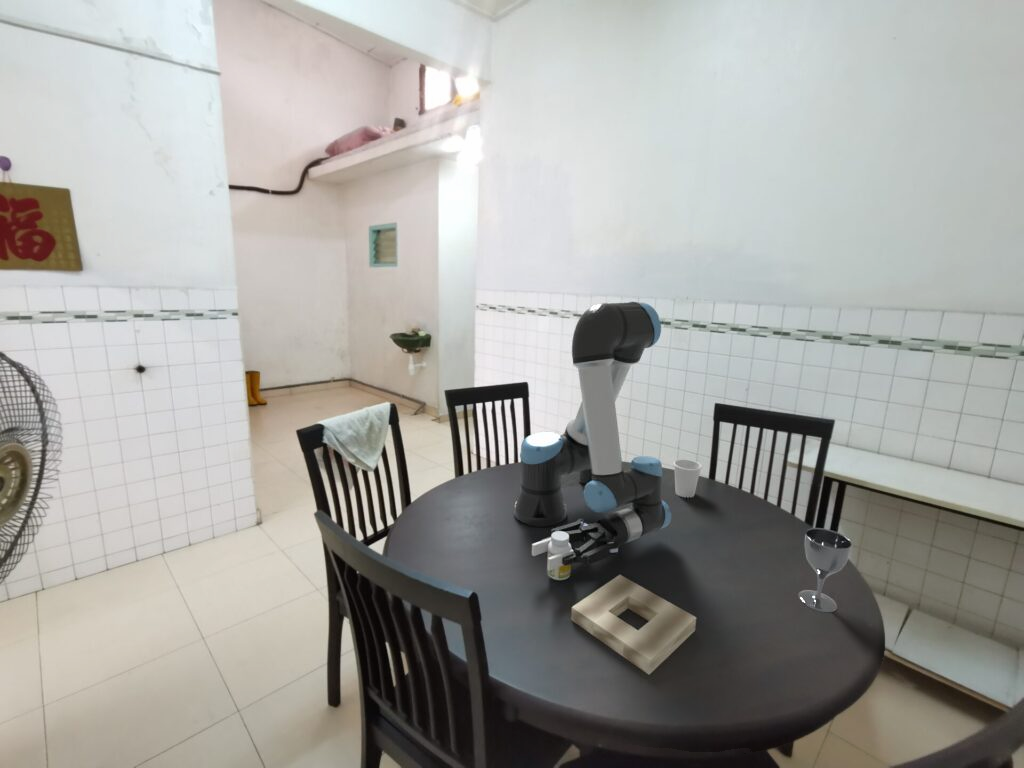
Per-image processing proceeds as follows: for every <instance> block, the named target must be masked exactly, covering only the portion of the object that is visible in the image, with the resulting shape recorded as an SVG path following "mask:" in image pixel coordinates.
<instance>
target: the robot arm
mask: <svg viewBox="0 0 1024 768" xmlns="http://www.w3.org/2000/svg"><path fill="white" fill-rule="evenodd" d="M661 322H662V321H661V320H660V319H659V314H658V312H657V311H656V310H655V308H654V307H652V306H651V305H650V304H648V303H646V302H637V301H630V302H629V301H628V302H615V303H614V302H612V303H611V302H610V303H608V302H604V303H602V302H600V303H598V304H595V305H592V306H591V307H589V308H588V309H587V310H585V312H583V313H582V315H581V316H580V318H579V320H578V321H577V323H576V326H575V328H574V332H573V337H572V344H571V357H572V362H573V363H572V364H573V366H574V367H575V368H577V369H576V370H578V377H579V385H580V386H579V387H580V393H581V402H580V405H579V407H578V410H577V412H576V416H575V419H572V420H570V421H568V423H567V424H566V427H565V430H564V433H563V434H559V433H557V432H553V431H545V432H544V431H540V432H535V433H532V434H530V435H528V436H526V437H525V438H524V439H523V440H522V442H521V444H520V453H519V457H520V477H519V478H520V485H519V486H520V488H519V492H518V494H517V497H516V501H515V502H514V504H513V505H514V507H513V510H514V511H513V514H515V515H514V517H515V518H516V520H517V521H519V520H520V521H521V523H522V522H523V523H522V524H524V523H526V524H525V525H527V524H528V525H527V526H531V525H532V526H531V527H538V528H540V527H552V526H555V525H559V524H561V523H562V522H563V521H565V519H566V517H567V504H566V503H565V499H564V495H563V492H562V478H563V477H566V476H569V475H573V474H577V473H578V474H579V472H581V471H585V470H590V469H591V473H592V481H590V482H589V483H587V484H586V485H585V484H584V490H583V498H584V499H583V500H584V501H585V504H586V506H587V507H588V508H589V509H590V510H591V511H592V512H595V513H599V514H601V513H605V512H609V511H614V510H615V509H617V508H620V507H623V506H625V505H629V504H631V506H629V507H627V508H623V509H620V510H618V511H614V512H613V513H609V514H607V515H603V516H602V517H600V518H599V519H598V520H597V521H596V522H594V523H593V522H592V523H586V522H584V519H583V518H579V519H577V520H576V521H574V522H570V523H567V524H564V525H560V526H557V527H554V528H552V529H551V530H550V536H549V537H546V538H542V539H541V540H540V541H537V542H534V543H532V544H531V556H533V557H536V556H538V555H540V554H543V553H546V552H547V553H548V544H549V542H550V541H551V535H552V533H553V532H556V531H563V532H566V533H567V534H568V535H569V543H570V544H572V543H578V542H579V543H584V544H582V545H581V546H580V547H579V548H576V547H575V548H574V550H573V549H570V550H568V551H565V552H562V553H560V554H557V555H554V556H552V557H549V558H548V570H549V571H550V570H553V569H555V568H558V567H561V566H563V565H565V566H567V565H569V564H571V565H572V564H575V563H576V564H579V563H580V564H581V565H582V566H583V567H588V566H590V565H592V564H594V563H597V562H599V561H601V560H603V559H606V558H608V557H612V556H617V555H619V546H622V545H624V544H626V543H630V542H632V541H635V540H637V539H639V538H642V537H644V536H647V535H649V534H653V533H656V532H658V531H659V532H660V531H661V530H662V529H664V528H666V527H667V526H668V525H669V524H670V523H671V521H672V513H671V511H670V507H669V505H668V504H667V503H666V502H665V501H664V500H662V499H663V498H662V497H663V476H664V475H663V466H662V464H663V463H662V462H661V461H660V459H659V458H656V457H653V456H646V455H640V456H635V457H634V458H633V459H631V462H630V469H628V470H624V468H623V460H622V452H621V451H622V450H621V443H620V442H621V441H620V434H619V426H618V418H617V417H618V416H617V408H616V401H617V399H618V397H619V394H620V391H621V389H622V387H623V385H624V382H625V380H626V377H627V376H628V373H629V371H630V369H631V366H632V365H635V364H638V363H639V362H640V360H641V358H642V356H643V354H644V351H645V349H650V348H651V347H652V346H654V345H656V344H657V342H658V341H659V340H660V336H661V333H662V323H661ZM520 521H519V522H520Z"/></svg>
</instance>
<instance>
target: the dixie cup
mask: <svg viewBox="0 0 1024 768" xmlns="http://www.w3.org/2000/svg"><path fill="white" fill-rule="evenodd" d="M673 466H674V467H673V468H674V485H675V487H674V488H675V494H676V495H677V496H679V497H682V498H686V497H687V499H690V498H694V497H695V493H696V490H697V486H698V481H699V477H700V475H701V470H702V468H703V466H702V464H701V463H700V462H698V461H695V460H692V459H685V458H684V459H683V458H681V459H677V460H675V461H673ZM689 497H690V498H689Z"/></svg>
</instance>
